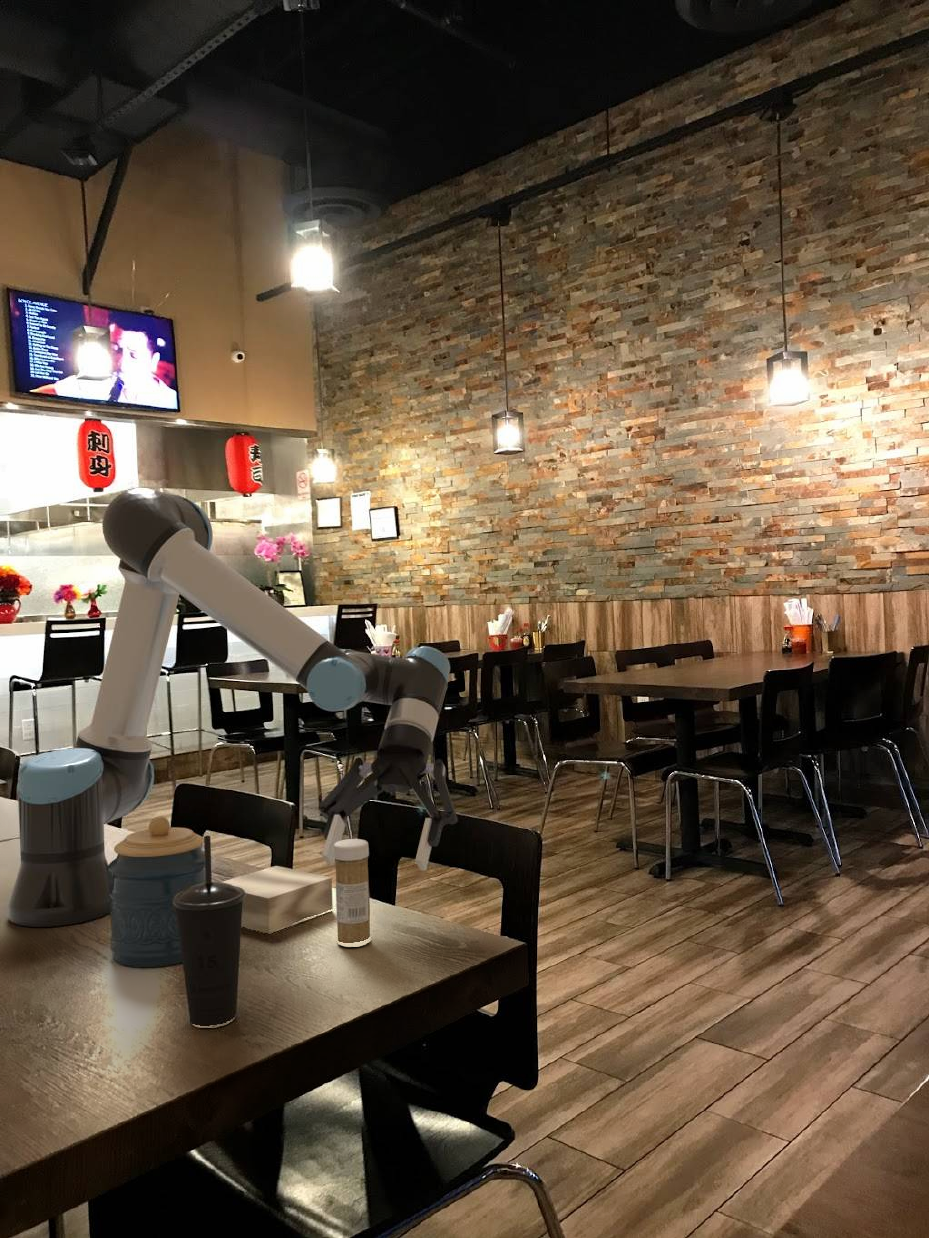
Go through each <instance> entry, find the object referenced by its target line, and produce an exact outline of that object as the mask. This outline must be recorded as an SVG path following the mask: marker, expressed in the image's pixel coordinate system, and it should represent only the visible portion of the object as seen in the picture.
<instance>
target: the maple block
mask: <svg viewBox="0 0 929 1238" xmlns="http://www.w3.org/2000/svg"><path fill="white" fill-rule="evenodd" d="M222 882H223V883H228V884H231V885H233V886H237V887H240V888H242V889H244V891H245V898H244V899H243V904H242V921H241V928H243V927H245V928H244V929H246V928H247V930H250V929H251V930H250V931H253V930H256V931H255V932H257V931H260V932H259V933H261V932H264V933H268V934H270V933H273V932H274V931H276V930H278V929H281V928H283V927H287V926H290V925H292V924H293V923H295V922H298V921H300V920H302V919H304V918H307V917H311V916H314V915H318V914H321V913H323V912H326V911H328V910H331V909H333V908H334V907H333V906H334V905H333V878H332V877H331V876H327V875H322V874H317V873H311V872H307V871H303V870H298V869H293V868H290V867H289V868H288V867H285V866H279V865H274V866H270V867H268V868H265V869H263V868H262V869H261V870H258V871H254V872H251V873H247V874H243V875H241V876H237V877H234V878H230V879H227V880H224V881H222ZM264 933H263V934H264ZM268 934H267V935H268ZM273 934H274V933H273Z"/></svg>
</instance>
